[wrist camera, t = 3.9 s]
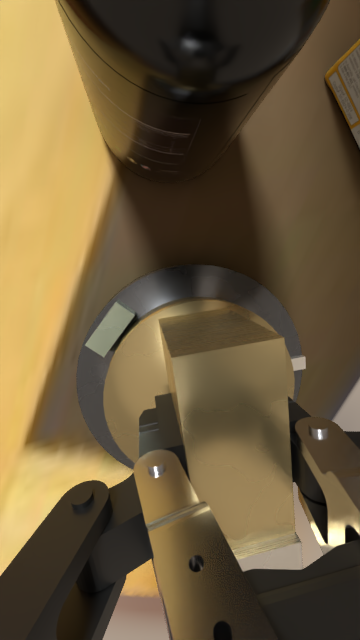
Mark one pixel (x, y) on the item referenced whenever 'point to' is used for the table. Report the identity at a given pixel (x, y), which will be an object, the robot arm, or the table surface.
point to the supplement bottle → (181, 72)
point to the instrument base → (152, 294)
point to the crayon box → (347, 87)
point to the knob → (217, 416)
